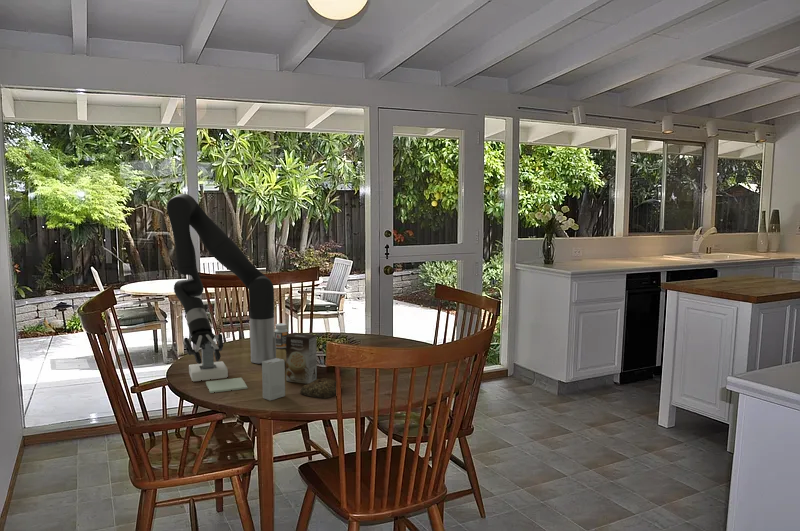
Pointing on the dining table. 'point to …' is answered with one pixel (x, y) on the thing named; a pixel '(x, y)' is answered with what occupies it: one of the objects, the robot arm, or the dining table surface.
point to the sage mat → (226, 385)
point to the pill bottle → (281, 335)
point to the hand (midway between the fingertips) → (209, 361)
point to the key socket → (208, 372)
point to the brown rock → (320, 388)
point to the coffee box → (301, 358)
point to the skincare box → (273, 378)
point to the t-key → (207, 356)
